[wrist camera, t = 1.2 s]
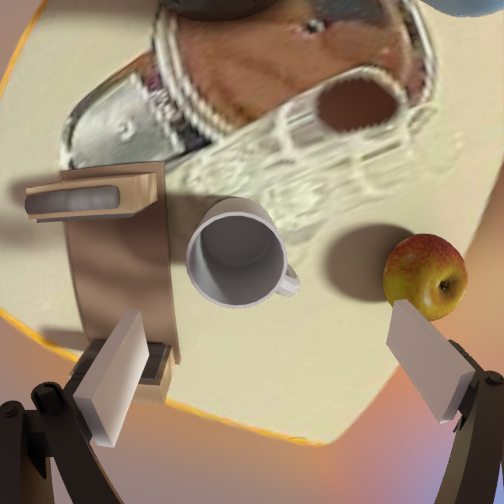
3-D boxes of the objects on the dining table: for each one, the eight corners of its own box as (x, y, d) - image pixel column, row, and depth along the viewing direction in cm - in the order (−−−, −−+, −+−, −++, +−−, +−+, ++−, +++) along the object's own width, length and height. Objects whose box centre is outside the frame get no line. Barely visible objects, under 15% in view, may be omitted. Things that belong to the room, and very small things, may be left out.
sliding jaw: (65, 180, 27) (14, 191, 19) (156, 172, 28) (124, 178, 19) (67, 209, 28) (18, 228, 20) (157, 204, 28) (127, 222, 20)
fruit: (449, 236, 32) (492, 257, 24) (426, 306, 34) (460, 338, 27) (385, 218, 31) (424, 236, 23) (361, 297, 33) (390, 333, 26)
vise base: (67, 170, 28) (23, 177, 20) (164, 161, 28) (139, 162, 21) (96, 353, 34) (71, 393, 27) (180, 359, 35) (169, 405, 27)
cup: (227, 181, 29) (222, 190, 21) (310, 240, 31) (336, 270, 23) (186, 242, 31) (167, 274, 22) (268, 295, 33) (278, 341, 24)
